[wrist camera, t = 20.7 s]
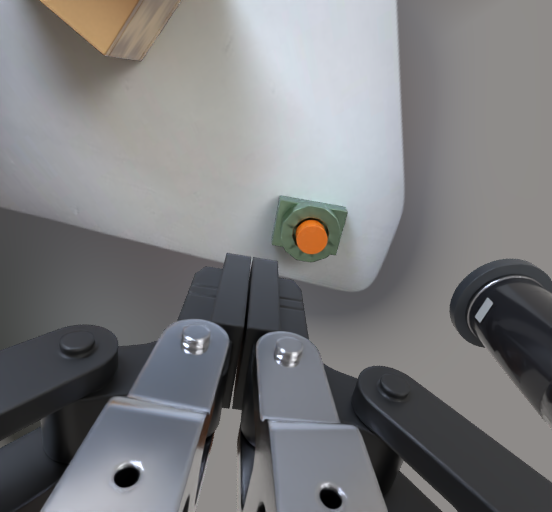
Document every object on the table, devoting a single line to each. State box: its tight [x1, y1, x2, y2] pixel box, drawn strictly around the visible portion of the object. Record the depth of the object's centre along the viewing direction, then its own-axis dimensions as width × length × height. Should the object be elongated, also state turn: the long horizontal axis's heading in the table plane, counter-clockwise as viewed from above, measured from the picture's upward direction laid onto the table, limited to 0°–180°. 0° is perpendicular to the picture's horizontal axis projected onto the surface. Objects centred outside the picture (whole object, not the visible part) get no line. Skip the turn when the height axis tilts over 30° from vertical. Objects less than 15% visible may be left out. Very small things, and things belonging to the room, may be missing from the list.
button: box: [296, 220, 328, 254], centre depth 38 cm, size 3×3×2 cm
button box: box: [272, 196, 348, 262], centre depth 40 cm, size 7×6×4 cm
